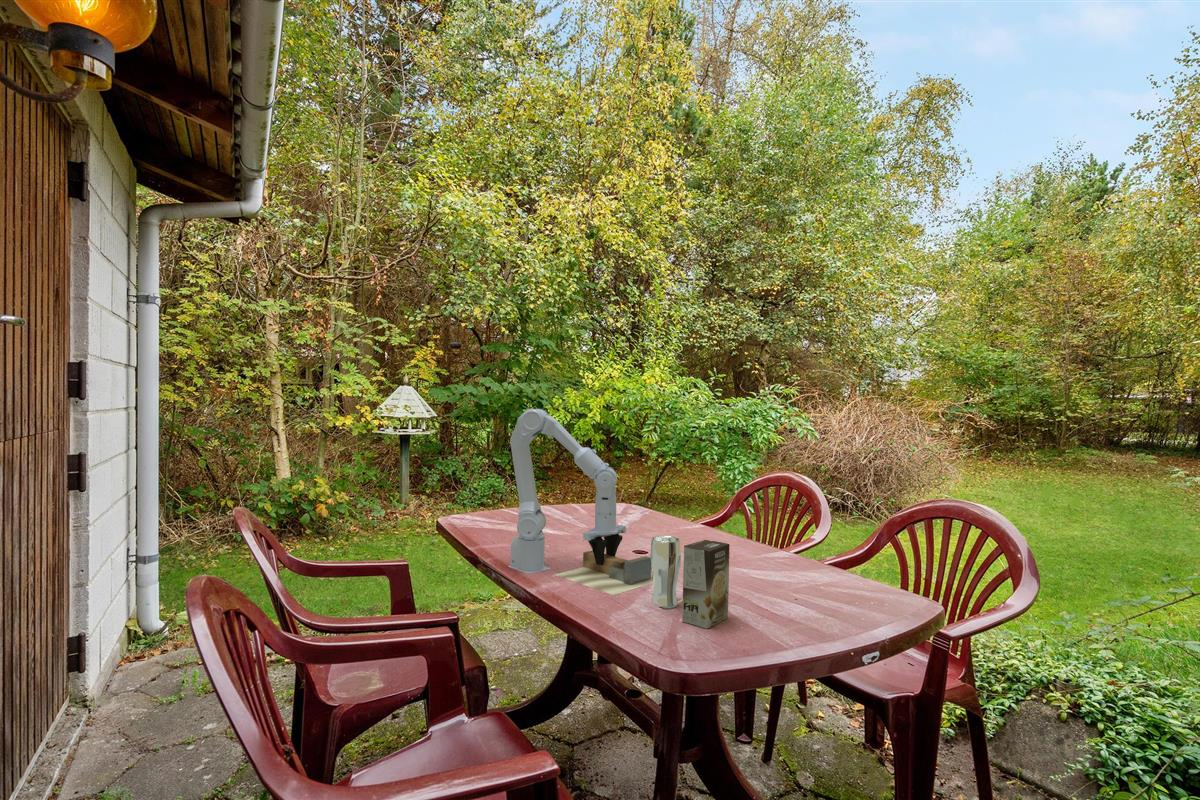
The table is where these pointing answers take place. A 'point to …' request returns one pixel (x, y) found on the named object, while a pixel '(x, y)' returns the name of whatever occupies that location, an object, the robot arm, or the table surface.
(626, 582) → the bracket
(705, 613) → the coffee box
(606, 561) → the brown wooden block
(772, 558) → the table surface
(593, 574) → the board
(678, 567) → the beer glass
